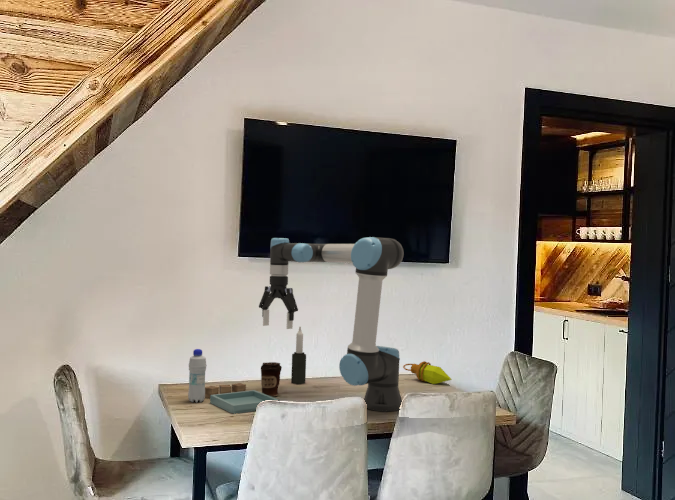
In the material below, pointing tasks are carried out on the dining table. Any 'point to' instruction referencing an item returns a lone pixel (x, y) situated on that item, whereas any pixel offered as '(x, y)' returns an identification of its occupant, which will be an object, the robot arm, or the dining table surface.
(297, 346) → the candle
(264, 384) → the coffee cup
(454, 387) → the dining table surface
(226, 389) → the walnut block
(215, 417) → the dining table surface
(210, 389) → the walnut block
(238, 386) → the walnut block
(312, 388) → the dining table surface
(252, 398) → the tray
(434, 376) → the plumb bob
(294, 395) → the dining table surface
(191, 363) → the bottle
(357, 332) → the robot arm
